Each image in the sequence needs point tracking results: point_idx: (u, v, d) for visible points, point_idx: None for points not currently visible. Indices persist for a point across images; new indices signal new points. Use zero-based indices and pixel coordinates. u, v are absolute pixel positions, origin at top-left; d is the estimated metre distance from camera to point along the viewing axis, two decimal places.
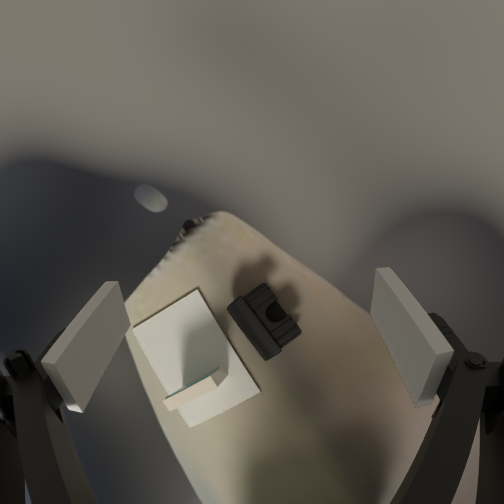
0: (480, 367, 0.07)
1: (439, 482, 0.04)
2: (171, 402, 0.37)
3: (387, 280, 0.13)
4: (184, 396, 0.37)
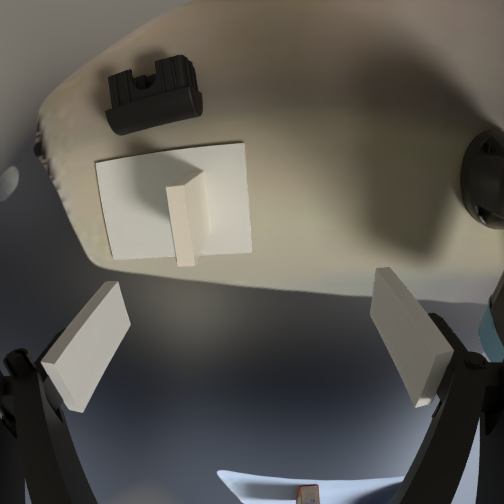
0: (480, 367, 0.07)
1: (439, 482, 0.04)
2: (183, 256, 0.30)
3: (387, 280, 0.13)
4: (181, 235, 0.29)
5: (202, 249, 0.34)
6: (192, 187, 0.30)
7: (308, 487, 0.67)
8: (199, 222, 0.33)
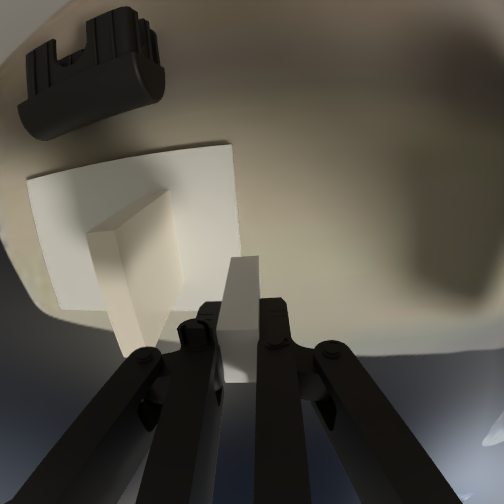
0: (283, 345, 0.10)
1: (284, 465, 0.06)
2: (129, 344, 0.16)
3: (245, 266, 0.15)
4: (120, 313, 0.16)
5: (166, 319, 0.21)
6: (139, 226, 0.17)
7: None
8: (158, 279, 0.20)
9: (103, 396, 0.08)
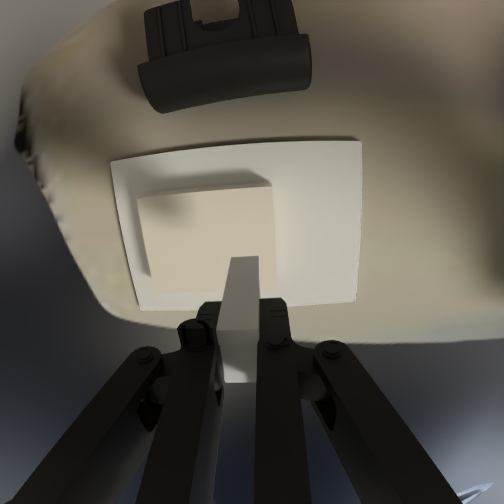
0: (283, 345, 0.10)
1: (284, 465, 0.06)
2: None
3: (245, 266, 0.15)
4: None
5: (203, 291, 0.24)
6: (175, 204, 0.22)
7: None
8: (199, 255, 0.23)
9: (103, 396, 0.08)
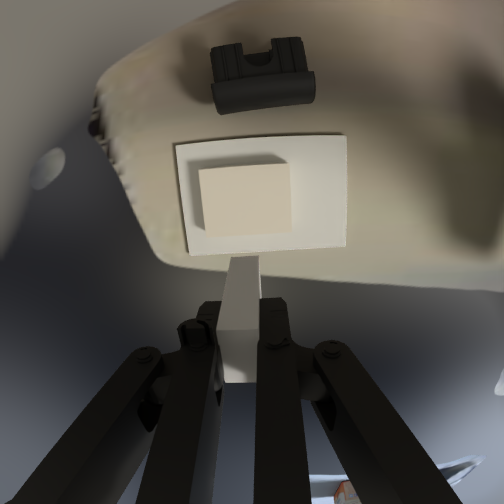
0: (283, 345, 0.10)
1: (284, 465, 0.06)
2: None
3: (245, 266, 0.15)
4: None
5: (241, 234, 0.36)
6: (226, 174, 0.33)
7: (350, 482, 0.65)
8: (240, 209, 0.35)
9: (103, 396, 0.08)
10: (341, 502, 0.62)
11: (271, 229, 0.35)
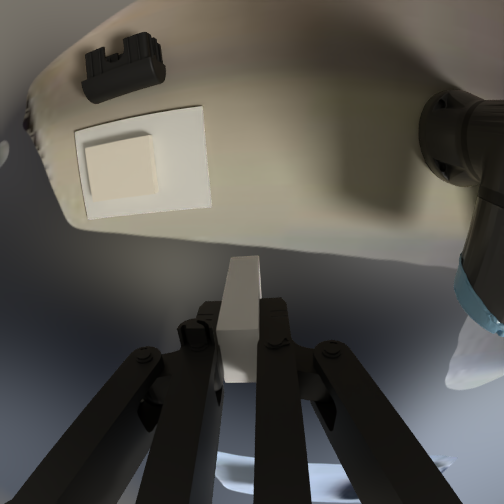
0: (283, 345, 0.10)
1: (284, 465, 0.06)
2: None
3: (245, 266, 0.15)
4: None
5: (116, 198, 0.40)
6: (103, 149, 0.37)
7: None
8: (114, 176, 0.38)
9: (103, 396, 0.08)
10: None
11: (138, 192, 0.39)
